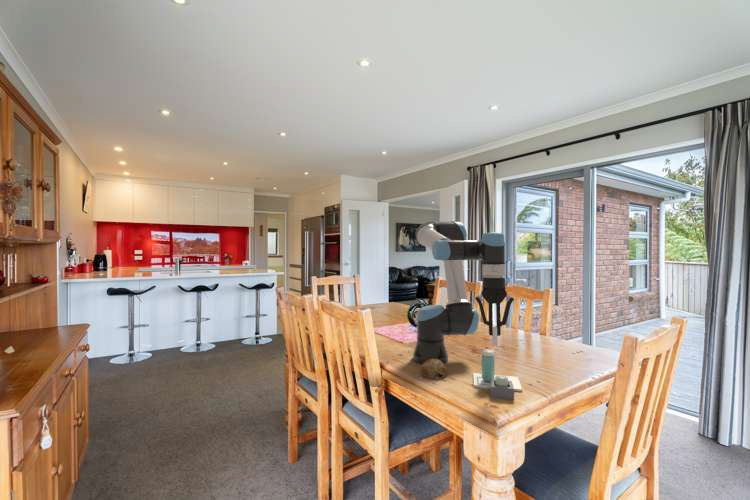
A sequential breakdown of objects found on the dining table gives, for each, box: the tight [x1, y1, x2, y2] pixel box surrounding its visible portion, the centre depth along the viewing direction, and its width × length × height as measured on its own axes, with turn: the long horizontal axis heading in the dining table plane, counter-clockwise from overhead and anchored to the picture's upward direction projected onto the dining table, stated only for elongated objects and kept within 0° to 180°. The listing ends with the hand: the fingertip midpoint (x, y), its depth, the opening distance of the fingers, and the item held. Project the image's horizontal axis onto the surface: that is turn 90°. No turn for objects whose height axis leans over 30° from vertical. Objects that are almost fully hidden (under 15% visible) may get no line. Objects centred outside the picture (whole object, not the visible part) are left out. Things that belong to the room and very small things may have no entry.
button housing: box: [489, 379, 515, 401], centre depth 118 cm, size 7×7×4 cm
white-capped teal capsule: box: [481, 349, 495, 383], centre depth 127 cm, size 4×4×11 cm
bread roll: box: [420, 359, 448, 380], centre depth 136 cm, size 10×10×8 cm
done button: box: [495, 374, 508, 387], centre depth 118 cm, size 4×4×4 cm
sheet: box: [472, 372, 523, 393], centre depth 128 cm, size 16×12×1 cm
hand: (494, 344), depth 122 cm, fingers closed
